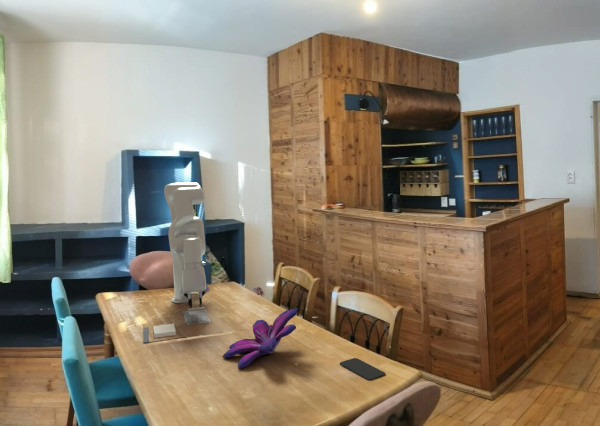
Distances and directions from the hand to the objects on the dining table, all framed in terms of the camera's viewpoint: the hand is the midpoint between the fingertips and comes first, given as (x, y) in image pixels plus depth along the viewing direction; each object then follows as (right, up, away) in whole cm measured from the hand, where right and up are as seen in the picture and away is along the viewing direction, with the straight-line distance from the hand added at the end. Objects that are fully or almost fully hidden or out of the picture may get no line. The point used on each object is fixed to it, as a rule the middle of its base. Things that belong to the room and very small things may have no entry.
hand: (195, 306), depth 198 cm
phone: (+66, -9, -57) cm, 87 cm away
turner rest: (0, -5, +1) cm, 6 cm away
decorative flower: (+33, -8, -42) cm, 54 cm away
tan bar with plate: (0, -1, -1) cm, 1 cm away
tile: (-8, -6, -19) cm, 22 cm away
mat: (-8, -7, -17) cm, 20 cm away
